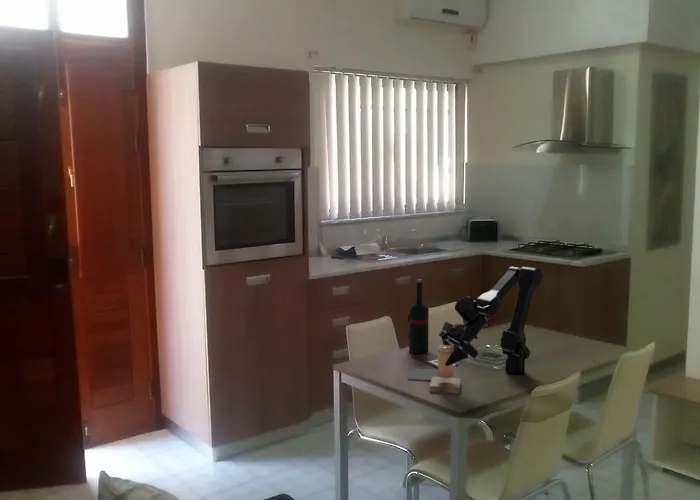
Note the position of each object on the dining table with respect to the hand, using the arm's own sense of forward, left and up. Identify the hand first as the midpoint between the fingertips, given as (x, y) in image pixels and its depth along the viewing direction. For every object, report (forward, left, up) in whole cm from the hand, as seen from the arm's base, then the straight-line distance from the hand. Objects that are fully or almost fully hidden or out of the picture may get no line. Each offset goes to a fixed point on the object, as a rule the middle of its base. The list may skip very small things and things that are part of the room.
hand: (442, 362), depth 228 cm
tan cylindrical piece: (-1, -1, -5) cm, 5 cm away
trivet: (-1, -1, -9) cm, 9 cm away
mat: (+5, -13, -9) cm, 16 cm away
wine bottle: (+12, -43, -9) cm, 45 cm away
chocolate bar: (+4, -31, -10) cm, 32 cm away
